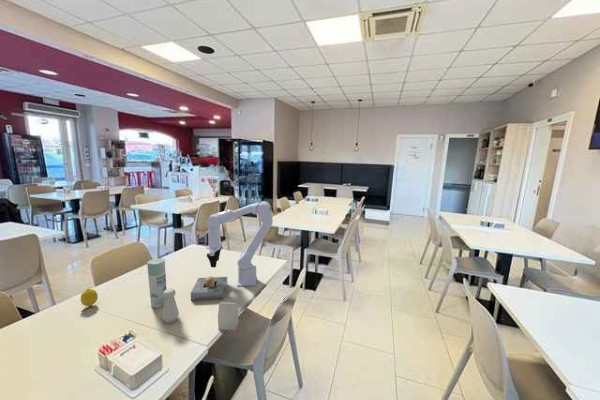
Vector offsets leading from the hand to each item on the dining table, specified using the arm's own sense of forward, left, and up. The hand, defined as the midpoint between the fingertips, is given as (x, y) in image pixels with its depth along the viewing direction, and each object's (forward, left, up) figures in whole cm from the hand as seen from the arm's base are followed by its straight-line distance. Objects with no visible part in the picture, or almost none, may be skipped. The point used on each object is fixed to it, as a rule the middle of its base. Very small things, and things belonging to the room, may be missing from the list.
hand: (215, 263), depth 128 cm
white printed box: (-11, +35, -11) cm, 38 cm away
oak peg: (+1, +9, -10) cm, 14 cm away
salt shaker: (+12, +29, -11) cm, 33 cm away
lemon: (+49, +16, -11) cm, 52 cm away
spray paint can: (+21, +17, -11) cm, 29 cm away
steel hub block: (+1, +9, -10) cm, 14 cm away
